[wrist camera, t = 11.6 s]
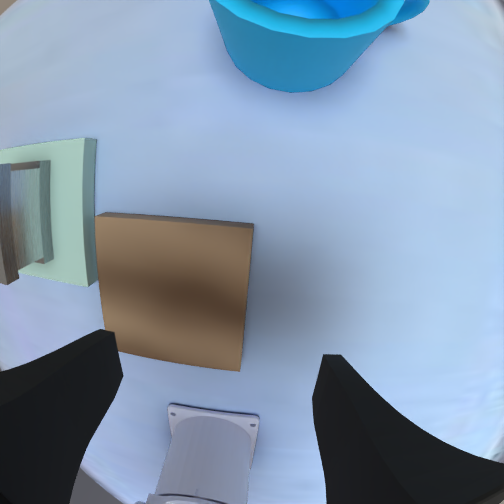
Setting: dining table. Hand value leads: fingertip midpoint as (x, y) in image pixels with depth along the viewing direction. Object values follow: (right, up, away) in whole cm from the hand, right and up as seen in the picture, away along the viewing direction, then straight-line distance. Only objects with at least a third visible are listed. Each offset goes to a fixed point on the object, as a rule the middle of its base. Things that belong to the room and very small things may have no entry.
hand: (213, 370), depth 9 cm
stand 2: (-4, +1, +10) cm, 11 cm away
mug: (+6, +18, +5) cm, 19 cm away
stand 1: (-15, +7, +9) cm, 18 cm away
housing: (-15, +7, +7) cm, 18 cm away
